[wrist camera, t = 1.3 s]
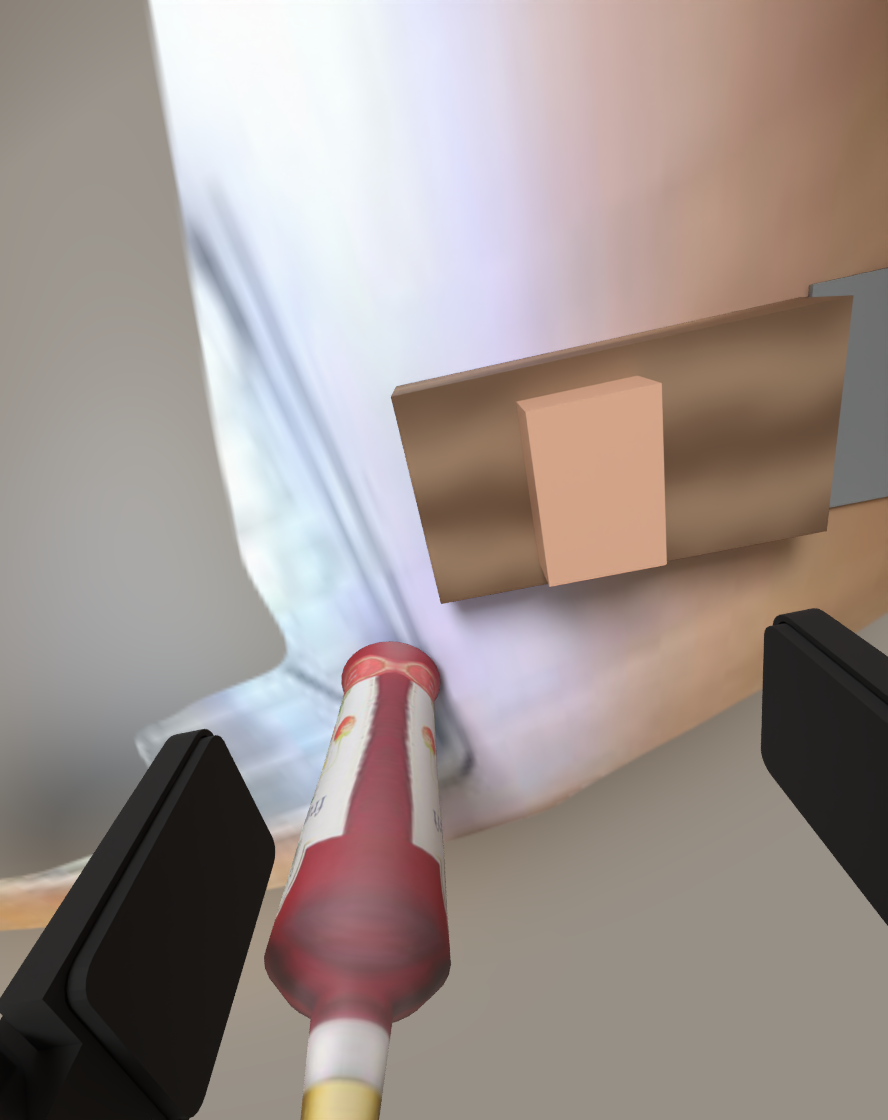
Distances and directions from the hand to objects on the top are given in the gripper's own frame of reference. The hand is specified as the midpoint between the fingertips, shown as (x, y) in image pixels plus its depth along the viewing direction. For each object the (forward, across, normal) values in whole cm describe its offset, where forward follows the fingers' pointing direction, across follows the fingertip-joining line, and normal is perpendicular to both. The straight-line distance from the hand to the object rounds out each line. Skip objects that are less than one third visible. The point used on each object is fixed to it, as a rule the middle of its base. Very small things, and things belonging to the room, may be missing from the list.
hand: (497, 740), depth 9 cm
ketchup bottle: (+25, +7, +15) cm, 30 cm away
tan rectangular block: (+18, -7, +2) cm, 20 cm away
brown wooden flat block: (+24, -9, +2) cm, 26 cm away
